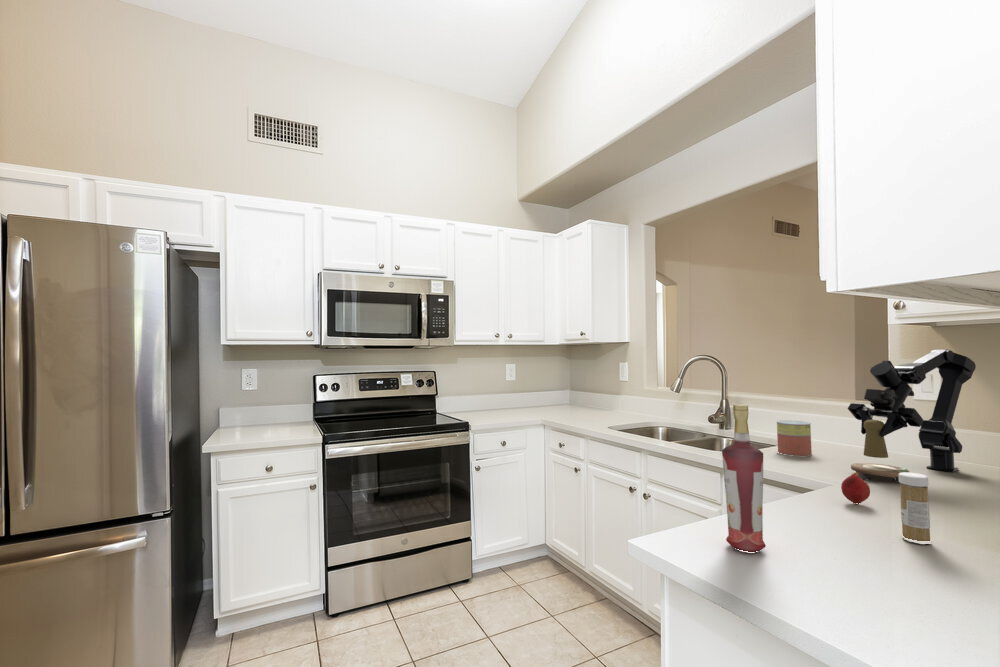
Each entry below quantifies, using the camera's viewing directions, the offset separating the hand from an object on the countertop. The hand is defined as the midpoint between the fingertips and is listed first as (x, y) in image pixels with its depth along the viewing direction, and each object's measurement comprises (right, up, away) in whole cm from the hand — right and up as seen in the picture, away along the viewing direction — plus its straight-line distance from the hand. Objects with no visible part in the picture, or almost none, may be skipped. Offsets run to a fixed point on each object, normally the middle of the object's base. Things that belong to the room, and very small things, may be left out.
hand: (871, 434), depth 145 cm
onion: (-25, -12, -26) cm, 38 cm away
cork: (+1, -7, 0) cm, 7 cm away
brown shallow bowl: (+2, -13, -1) cm, 13 cm away
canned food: (-1, -15, +36) cm, 40 cm away
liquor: (-67, -11, -53) cm, 86 cm away
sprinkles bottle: (-31, -11, -50) cm, 60 cm away
